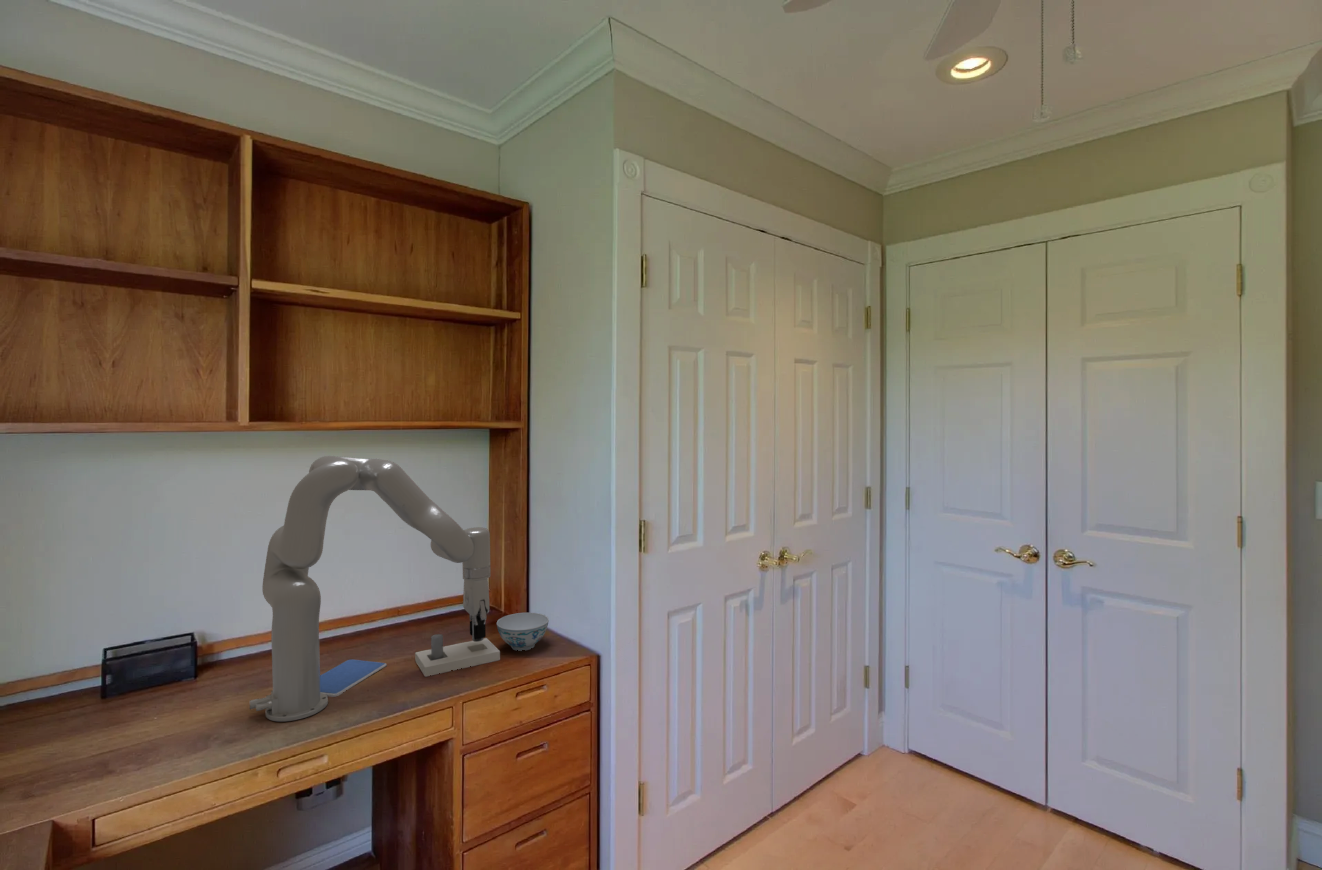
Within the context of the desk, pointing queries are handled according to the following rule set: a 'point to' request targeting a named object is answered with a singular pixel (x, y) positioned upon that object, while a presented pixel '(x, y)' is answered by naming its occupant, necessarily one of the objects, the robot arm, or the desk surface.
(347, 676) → the tablet computer
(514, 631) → the chinaware
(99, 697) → the desk surface
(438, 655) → the pin board
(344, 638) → the desk surface
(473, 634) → the steel pin
